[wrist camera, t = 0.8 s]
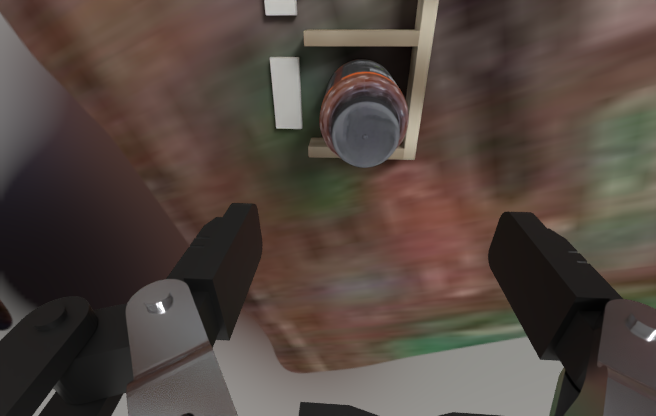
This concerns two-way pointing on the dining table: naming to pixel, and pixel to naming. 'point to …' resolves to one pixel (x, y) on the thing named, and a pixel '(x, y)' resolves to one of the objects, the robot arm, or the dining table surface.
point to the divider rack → (417, 73)
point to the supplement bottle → (363, 114)
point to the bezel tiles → (285, 75)
